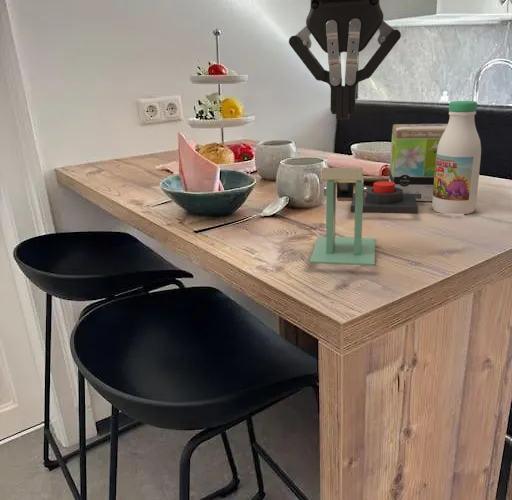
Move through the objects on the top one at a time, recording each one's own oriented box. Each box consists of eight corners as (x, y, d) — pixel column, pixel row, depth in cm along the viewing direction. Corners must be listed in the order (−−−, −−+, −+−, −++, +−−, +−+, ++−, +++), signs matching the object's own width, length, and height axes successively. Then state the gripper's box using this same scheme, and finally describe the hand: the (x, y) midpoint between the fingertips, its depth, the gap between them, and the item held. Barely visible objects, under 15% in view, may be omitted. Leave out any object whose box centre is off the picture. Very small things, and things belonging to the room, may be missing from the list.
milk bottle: (447, 202, 101) (456, 99, 94) (483, 210, 95) (496, 100, 88) (423, 210, 96) (431, 102, 90) (459, 218, 90) (470, 103, 84)
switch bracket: (374, 271, 69) (378, 188, 65) (309, 268, 71) (309, 187, 67) (374, 245, 79) (377, 171, 75) (317, 243, 81) (317, 171, 77)
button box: (413, 204, 101) (414, 184, 99) (417, 218, 92) (418, 197, 90) (352, 203, 103) (353, 184, 102) (350, 216, 94) (351, 196, 93)
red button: (394, 190, 98) (394, 181, 97) (395, 194, 94) (395, 185, 93) (373, 189, 99) (373, 181, 98) (373, 194, 95) (373, 185, 94)
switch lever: (361, 183, 61) (362, 164, 61) (320, 183, 62) (321, 164, 62) (362, 201, 72) (363, 185, 73) (328, 201, 73) (328, 185, 74)
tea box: (391, 203, 102) (395, 129, 97) (388, 191, 111) (391, 123, 106) (469, 203, 100) (477, 127, 95) (459, 191, 109) (466, 121, 104)
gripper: (407, -46, 56) (398, 114, 62) (290, -36, 59) (292, 116, 65) (412, -62, 49) (401, 121, 55) (278, -49, 52) (282, 123, 58)
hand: (342, 118), depth 60 cm, fingers closed
